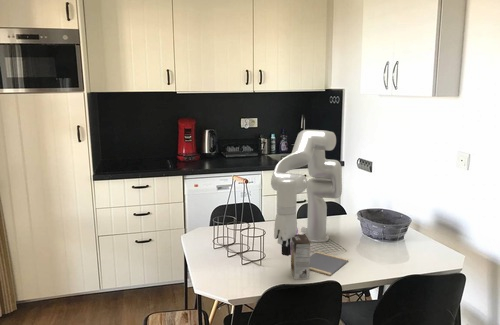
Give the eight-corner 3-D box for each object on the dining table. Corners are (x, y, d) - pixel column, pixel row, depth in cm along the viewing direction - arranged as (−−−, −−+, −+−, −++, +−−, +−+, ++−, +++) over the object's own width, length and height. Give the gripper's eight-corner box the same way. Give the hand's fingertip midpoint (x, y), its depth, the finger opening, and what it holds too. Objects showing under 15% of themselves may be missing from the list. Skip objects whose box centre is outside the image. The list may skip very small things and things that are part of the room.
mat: (296, 266, 186) (296, 264, 186) (316, 253, 200) (316, 251, 200) (330, 276, 176) (330, 274, 176) (348, 261, 190) (348, 259, 190)
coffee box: (290, 270, 182) (290, 234, 179) (305, 269, 183) (305, 233, 180) (294, 280, 173) (294, 242, 170) (309, 279, 174) (310, 241, 171)
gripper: (288, 203, 172) (287, 246, 175) (267, 212, 160) (267, 258, 163) (304, 206, 167) (303, 250, 171) (284, 216, 156) (283, 263, 159)
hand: (286, 254), depth 167 cm, fingers closed
